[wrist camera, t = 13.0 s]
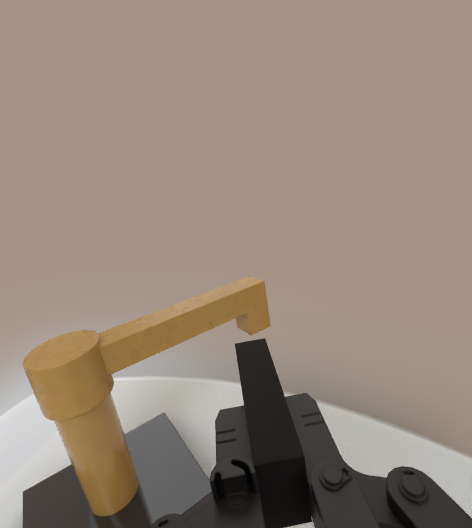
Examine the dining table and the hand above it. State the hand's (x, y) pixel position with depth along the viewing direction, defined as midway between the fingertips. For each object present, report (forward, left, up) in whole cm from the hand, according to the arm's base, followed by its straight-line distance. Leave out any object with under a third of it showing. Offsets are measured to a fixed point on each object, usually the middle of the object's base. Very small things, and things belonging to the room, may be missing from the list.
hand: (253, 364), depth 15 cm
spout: (+1, -10, -5) cm, 11 cm away
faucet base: (+8, -10, -14) cm, 19 cm away
